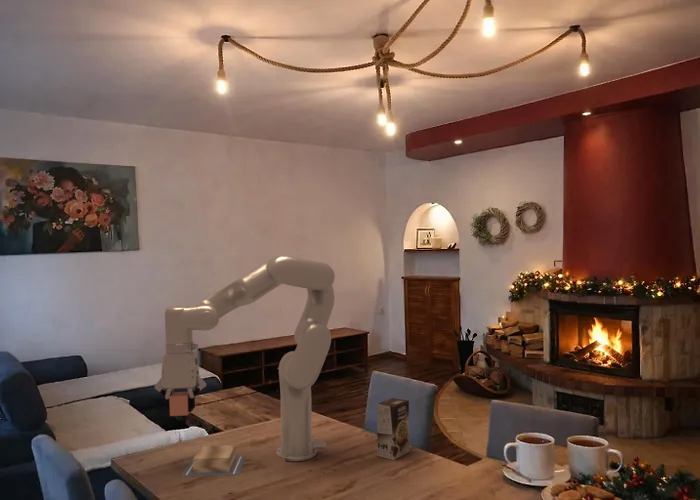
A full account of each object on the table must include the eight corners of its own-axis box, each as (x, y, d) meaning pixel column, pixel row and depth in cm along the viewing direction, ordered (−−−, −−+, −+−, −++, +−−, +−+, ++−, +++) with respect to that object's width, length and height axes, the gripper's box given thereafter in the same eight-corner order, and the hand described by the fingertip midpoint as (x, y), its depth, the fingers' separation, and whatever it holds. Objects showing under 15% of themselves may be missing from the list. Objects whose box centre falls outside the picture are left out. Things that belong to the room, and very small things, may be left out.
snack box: (394, 461, 162) (393, 406, 162) (376, 456, 166) (376, 403, 166) (410, 451, 170) (409, 400, 170) (392, 447, 173) (392, 396, 174)
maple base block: (235, 458, 163) (235, 445, 163) (229, 472, 153) (229, 457, 153) (201, 459, 162) (201, 446, 162) (193, 473, 152) (193, 458, 152)
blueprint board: (246, 459, 165) (246, 455, 165) (238, 478, 151) (238, 474, 151) (192, 460, 164) (192, 457, 164) (180, 479, 150) (180, 475, 150)
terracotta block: (192, 410, 161) (191, 391, 161) (187, 415, 156) (187, 396, 156) (174, 410, 160) (174, 392, 160) (169, 416, 155) (169, 396, 155)
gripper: (211, 345, 162) (213, 406, 162) (154, 347, 162) (155, 408, 162) (205, 349, 155) (207, 414, 155) (145, 352, 154) (147, 416, 154)
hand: (181, 410), depth 158 cm, fingers closed on terracotta block, 4 cm apart
